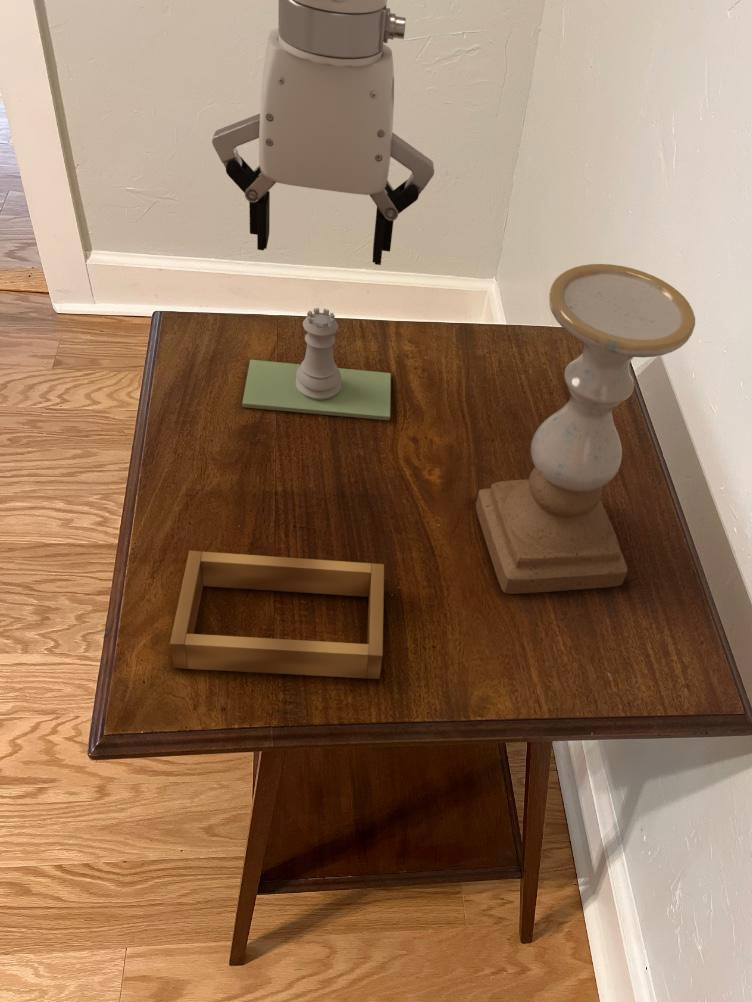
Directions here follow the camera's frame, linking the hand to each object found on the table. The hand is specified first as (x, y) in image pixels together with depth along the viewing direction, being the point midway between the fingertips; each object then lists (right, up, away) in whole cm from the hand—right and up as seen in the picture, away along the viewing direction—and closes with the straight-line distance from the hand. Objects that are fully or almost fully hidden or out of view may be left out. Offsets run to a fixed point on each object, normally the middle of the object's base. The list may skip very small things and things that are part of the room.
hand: (320, 249), depth 78 cm
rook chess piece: (-2, -9, +11) cm, 15 cm away
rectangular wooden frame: (-2, -32, -8) cm, 33 cm away
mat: (-2, -9, +12) cm, 15 cm away
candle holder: (+20, -25, +3) cm, 32 cm away
